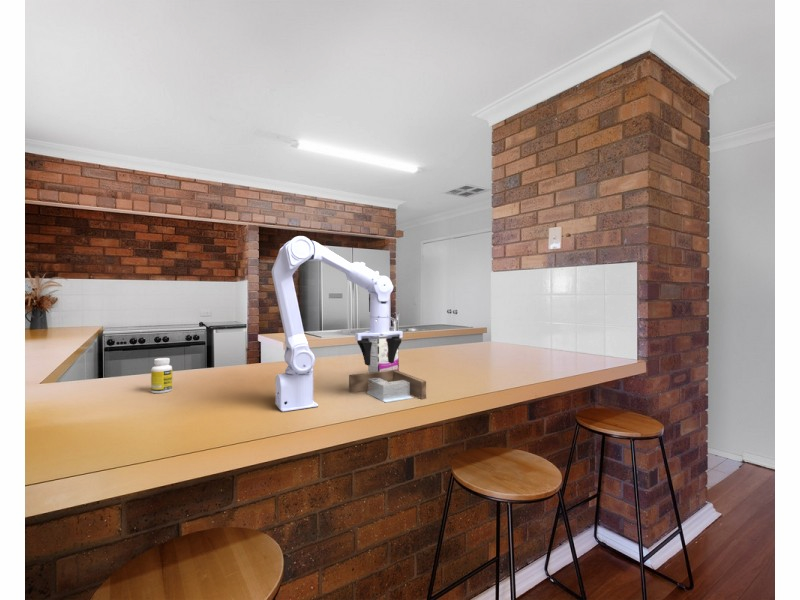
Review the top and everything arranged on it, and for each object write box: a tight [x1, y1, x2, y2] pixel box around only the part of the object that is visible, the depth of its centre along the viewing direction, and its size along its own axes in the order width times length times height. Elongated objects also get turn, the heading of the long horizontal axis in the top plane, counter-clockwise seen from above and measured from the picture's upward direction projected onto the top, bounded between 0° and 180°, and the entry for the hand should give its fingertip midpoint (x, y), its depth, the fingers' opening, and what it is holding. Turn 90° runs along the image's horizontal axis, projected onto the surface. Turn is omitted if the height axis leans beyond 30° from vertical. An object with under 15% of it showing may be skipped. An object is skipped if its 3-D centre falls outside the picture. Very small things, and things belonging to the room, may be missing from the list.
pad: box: [366, 391, 414, 403], centre depth 112 cm, size 9×12×1 cm
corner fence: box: [348, 370, 427, 400], centre depth 113 cm, size 16×18×5 cm
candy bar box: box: [367, 336, 400, 373], centre depth 132 cm, size 11×5×16 cm, turn 143°
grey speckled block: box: [367, 378, 411, 400], centre depth 113 cm, size 10×8×4 cm
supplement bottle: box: [150, 357, 173, 394], centre depth 116 cm, size 5×5×10 cm
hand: (379, 363), depth 112 cm, fingers open, 7 cm apart
